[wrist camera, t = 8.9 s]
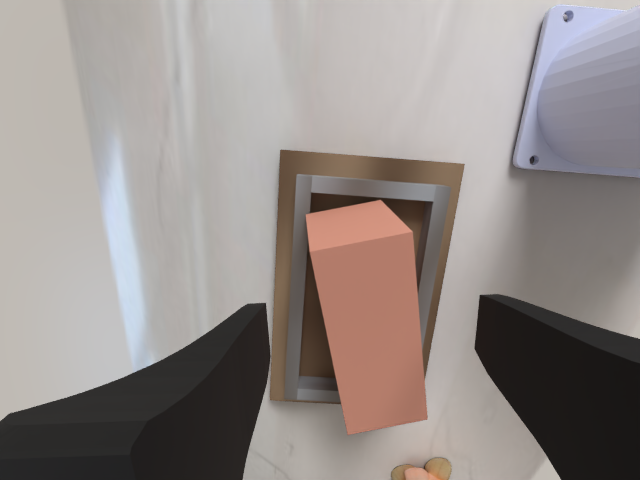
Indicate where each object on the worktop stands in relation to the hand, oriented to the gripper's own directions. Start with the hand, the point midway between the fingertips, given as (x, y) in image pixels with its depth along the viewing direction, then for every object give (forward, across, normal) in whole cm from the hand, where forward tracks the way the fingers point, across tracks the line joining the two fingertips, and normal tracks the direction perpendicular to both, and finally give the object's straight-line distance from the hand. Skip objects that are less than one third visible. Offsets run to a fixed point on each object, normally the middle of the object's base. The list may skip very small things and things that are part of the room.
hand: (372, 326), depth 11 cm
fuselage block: (+8, 0, +2) cm, 8 cm away
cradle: (+9, 0, +3) cm, 10 cm away
